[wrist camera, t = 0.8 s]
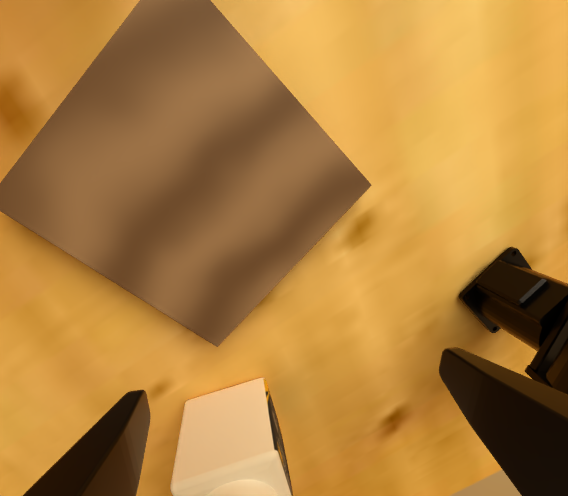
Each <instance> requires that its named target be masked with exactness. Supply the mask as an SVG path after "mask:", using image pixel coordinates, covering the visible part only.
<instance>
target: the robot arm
mask: <svg viewBox="0 0 568 496" xmlns="http://www.w3.org/2000/svg"><path fill="white" fill-rule="evenodd" d="M459 298H460V300H461V301H462V302H463V303H464V304H465V305H466V306H467V307H468V309H469V310H470V311H471V312H472V313H473V314H474V315H475V316H476V317H477V319H478V320H479V321H480V322H481V323H482V324H483V325H484V326H485V328H486V329H487V330H489V331H490V332H492V333H496V332H497V331H498V330H499V329H500V328H502V329H504V330H505V331H507V332H508V333H510V334H511V335H513V336H514V337H516V338H518V339H519V340H521V341H522V342H524V343H525V344H527V345H529V346H530V347H532V348H533V349H535V350H536V351H538V352H537V353H536V355H535V357H534V359H533V360H532V362H531V364H530V365H528V366H527V368H526V369H525V372H526V373H527V374H528V375H529V376H530V377H531V378H532V379H533V380H532V379H530V378H528V377H525V376H523V375H521V374H518V373H516V372H514V371H511V370H509V369H507V368H504V367H502V366H500V365H497V364H495V363H493V362H490V361H488V360H486V359H483V358H481V357H479V356H476V355H474V354H472V353H469V352H467V351H465V350H462V349H460V348H456V347H454V348H447V349H444V350H443V352H442V357H441V361H440V366H439V373H440V376H441V378H442V380H443V382H444V383H445V385H446V387H447V388H448V390H449V391H450V393H451V395H452V396H453V398H454V400H455V401H456V403H457V405H458V406H459V408H460V409H461V411H462V413H463V414H464V416H465V417H466V419H467V421H468V422H469V424H470V425H471V427H472V428H473V429H474V431H475V432H476V434H477V435H478V436H479V438H480V439H481V441H482V442H483V443H484V445H485V446H486V447H487V449H488V450H489V452H490V453H491V454H492V456H493V457H494V458H495V460H496V461H497V462H498V464H499V465H500V467H501V468H502V469H503V471H504V472H505V473H506V475H507V476H508V477H509V479H510V480H511V482H512V483H513V484H514V486H515V487H516V488H517V490H518V491H519V492H520V494H521V495H522V496H568V284H567V283H564V282H562V281H559V280H557V279H554V278H551V277H549V276H546V275H544V274H541V273H538V272H536V271H533V270H532V269H531V267H530V266H529V264H528V263H527V261H526V260H525V259H524V257H523V256H522V254H521V253H520V251H519V250H518V249H517V248H514V247H509V248H508V249H507V250H506V251H505V252H504V253H502V254H501V255H500V256H499V257H498V258H497V259H496V260H495V261H494V262H493V263H492V264H491V265H490V266H489V267H488V268H487V269H486V270H485V271H483V272H482V273H481V274H480V275H479V276H478V277H477V278H476V279H475V280H474V281H473V282H472V283H471V284H470V285H469V286H468V287H467V288H465V289H464V290H463V291H462V292H461V294H460V296H459ZM149 425H150V409H149V404H148V399H147V395H146V392H145V391H144V390H137V391H130V392H128V393H126V394H125V395H124V396H123V397H122V398H121V399H120V400H119V401H118V402H117V403H116V404H115V405H114V406H113V407H112V408H111V409H110V410H109V411H108V412H107V413H106V414H105V415H104V416H103V417H102V418H101V419H100V420H99V421H98V422H97V423H96V424H95V425H94V426H93V427H92V428H91V429H90V430H89V431H88V432H87V433H86V434H85V435H84V436H83V437H82V438H80V439H79V440H78V441H77V442H76V443H75V444H74V445H73V446H72V447H71V448H70V449H69V450H68V451H67V452H66V453H65V454H64V455H63V456H62V457H61V458H60V459H59V460H58V461H57V462H56V463H55V464H54V465H53V466H52V467H51V468H50V469H49V470H48V471H47V472H46V473H45V474H44V475H43V476H42V477H41V478H40V479H39V480H38V481H37V482H36V483H35V484H34V485H33V486H32V487H31V488H30V489H29V490H28V491H27V492H26V493H25V494H24V495H23V496H136V493H137V489H138V484H139V479H140V474H141V469H142V463H143V458H144V452H145V447H146V441H147V436H148V430H149Z"/></svg>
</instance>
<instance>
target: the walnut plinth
mask: <svg viewBox="0 0 568 496" xmlns="http://www.w3.org/2000/svg"><path fill="white" fill-rule="evenodd" d="M370 186H371V184H370V183H369V182H368V180H367V179H366V178H365V177H364V176H363V175H362V174H361V172H360V171H359V170H358V169H357V168H356V167H355V166H354V164H353V163H352V162H351V161H350V160H349V159H348V158H347V156H346V155H345V154H344V153H343V152H342V151H341V150H340V148H339V147H338V146H337V145H336V144H335V143H334V142H333V140H332V139H331V138H330V137H329V136H328V135H327V134H326V132H325V131H324V130H323V129H322V128H321V127H320V125H319V124H318V123H317V122H316V121H315V120H314V119H313V117H312V116H311V115H310V114H309V113H308V112H307V111H306V109H305V108H304V107H303V106H302V105H301V104H300V103H299V101H298V100H297V99H296V98H295V97H294V96H293V95H292V93H291V92H290V91H289V90H288V89H287V88H286V87H285V85H284V84H283V83H282V82H281V81H280V80H279V79H278V77H277V76H276V75H275V74H274V73H273V72H272V71H271V69H270V68H269V67H268V66H267V65H266V64H265V63H264V61H263V60H262V59H261V58H260V57H259V56H258V54H257V53H256V52H255V51H254V50H253V49H252V48H251V46H250V45H249V44H248V43H247V42H246V41H245V40H244V38H243V37H242V36H241V35H240V34H239V33H238V32H237V30H236V29H235V28H234V27H233V26H232V25H231V24H230V22H229V21H228V20H227V19H226V18H225V17H224V16H223V14H222V13H221V12H220V11H219V10H218V9H217V8H216V6H215V5H214V4H213V3H212V2H211V1H210V0H140V1H139V2H138V4H137V5H136V6H135V8H134V9H133V10H132V12H131V13H130V14H129V15H128V17H127V18H126V19H125V21H124V22H123V23H122V25H121V26H120V27H119V29H118V30H117V31H116V32H115V34H114V35H113V36H112V38H111V39H110V40H109V42H108V43H107V44H106V46H105V47H104V48H103V50H102V51H101V52H100V53H99V55H98V56H97V57H96V59H95V60H94V61H93V63H92V64H91V65H90V67H89V68H88V69H87V70H86V72H85V73H84V74H83V76H82V77H81V78H80V80H79V81H78V82H77V84H76V85H75V86H74V87H73V89H72V90H71V91H70V93H69V94H68V95H67V97H66V98H65V99H64V101H63V102H62V103H61V104H60V106H59V107H58V108H57V110H56V111H55V112H54V114H53V115H52V116H51V118H50V119H49V120H48V121H47V123H46V124H45V125H44V127H43V128H42V129H41V131H40V132H39V133H38V135H37V136H36V137H35V138H34V140H33V141H32V142H31V144H30V145H29V146H28V148H27V149H26V150H25V152H24V153H23V154H22V155H21V157H20V158H19V159H18V161H17V162H16V163H15V165H14V166H13V167H12V169H11V170H10V171H9V172H8V174H7V175H6V176H5V178H4V179H3V180H2V182H1V183H0V211H1V212H3V213H4V214H6V215H8V216H9V217H11V218H12V219H14V220H15V221H17V222H19V223H20V224H22V225H23V226H25V227H27V228H28V229H30V230H31V231H33V232H35V233H36V234H38V235H39V236H41V237H43V238H44V239H46V240H47V241H49V242H51V243H52V244H54V245H55V246H57V247H59V248H60V249H62V250H63V251H65V252H67V253H68V254H70V255H71V256H73V257H75V258H76V259H78V260H79V261H81V262H83V263H84V264H86V265H87V266H89V267H90V268H92V269H94V270H95V271H97V272H98V273H100V274H102V275H103V276H105V277H106V278H108V279H110V280H111V281H113V282H114V283H116V284H118V285H119V286H121V287H122V288H124V289H126V290H127V291H129V292H130V293H132V294H134V295H135V296H137V297H138V298H140V299H142V300H143V301H145V302H146V303H148V304H150V305H151V306H153V307H154V308H156V309H158V310H159V311H161V312H162V313H164V314H166V315H167V316H169V317H170V318H172V319H173V320H175V321H177V322H178V323H180V324H181V325H183V326H185V327H186V328H188V329H189V330H191V331H193V332H194V333H196V334H197V335H199V336H201V337H202V338H204V339H205V340H207V341H209V342H210V343H212V344H213V345H215V346H217V347H218V346H219V345H220V344H221V343H222V342H223V340H224V339H225V338H226V337H227V336H228V335H229V334H230V333H231V332H232V331H233V330H234V329H235V328H236V327H237V326H238V325H239V324H240V323H241V322H242V321H243V320H244V318H245V317H246V316H247V315H248V314H249V313H250V312H251V311H252V310H253V309H254V308H255V307H256V306H257V305H258V304H259V303H260V302H261V301H262V300H263V299H264V297H265V296H266V295H267V294H268V293H269V292H270V291H271V290H272V289H273V288H274V287H275V286H276V285H277V284H278V283H279V282H280V281H281V280H282V279H283V278H284V277H285V275H286V274H287V273H288V272H289V271H290V270H291V269H292V268H293V267H294V266H295V265H296V264H297V263H298V262H299V261H300V260H301V259H302V258H303V257H304V256H305V254H306V253H307V252H308V251H309V250H310V249H311V248H312V247H313V246H314V245H315V244H316V243H317V242H318V241H319V240H320V239H321V238H322V237H323V236H324V235H325V234H326V232H327V231H328V230H329V229H330V228H331V227H332V226H333V225H334V224H335V223H336V222H337V221H338V220H339V219H340V218H341V217H342V216H343V215H344V214H345V213H346V211H347V210H348V209H349V208H350V207H351V206H352V205H353V204H354V203H355V202H356V201H357V200H358V199H359V198H360V197H361V196H362V195H363V194H364V193H365V192H366V191H367V189H368V188H369V187H370Z"/></svg>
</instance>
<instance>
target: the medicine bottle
mask: <svg viewBox="0 0 568 496" xmlns="http://www.w3.org/2000/svg"><path fill="white" fill-rule="evenodd" d="M170 487H171V493H172V494H173V496H293V492H292V486H291V481H290V476H289V471H288V465H287V460H286V455H285V449H284V444H283V439H282V434H281V429H280V426H279V423H278V419H277V416H276V412H275V409H274V406H273V402H272V399H271V395H270V392H269V389H268V385H267V382H266V380H265V378H263V377H262V378H258V379H255V380H251V381H248V382H245V383H242V384H238V385H235V386H232V387H229V388H225V389H222V390H219V391H216V392H212V393H209V394H206V395H203V396H199V397H196V398H193V399H190V400H187V401H186V403H185V405H184V411H183V417H182V423H181V428H180V434H179V440H178V446H177V451H176V457H175V463H174V469H173V474H172V480H171V486H170Z"/></svg>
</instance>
